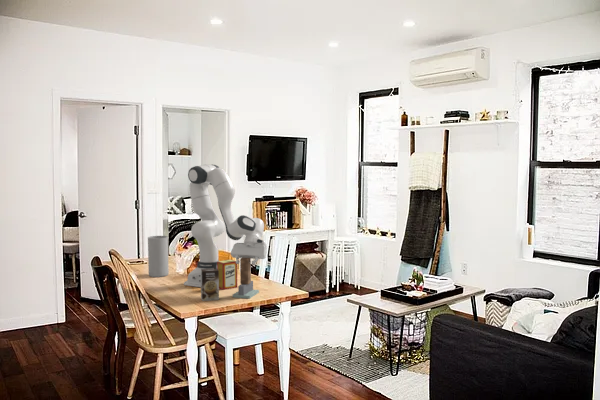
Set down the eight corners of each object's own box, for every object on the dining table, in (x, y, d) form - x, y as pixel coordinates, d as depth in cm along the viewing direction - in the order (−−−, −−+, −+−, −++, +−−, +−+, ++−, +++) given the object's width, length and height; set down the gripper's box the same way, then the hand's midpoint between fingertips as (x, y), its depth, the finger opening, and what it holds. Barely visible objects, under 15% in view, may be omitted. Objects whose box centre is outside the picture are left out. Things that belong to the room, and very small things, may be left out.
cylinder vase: (165, 277, 350) (164, 238, 348) (146, 277, 351) (145, 238, 349) (170, 273, 363) (169, 235, 361) (151, 273, 363) (151, 235, 361)
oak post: (240, 283, 303) (240, 258, 302) (243, 282, 307) (243, 257, 306) (248, 284, 302) (247, 259, 301) (250, 282, 306) (250, 257, 305)
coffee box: (202, 301, 292) (201, 271, 290) (201, 298, 298) (200, 268, 297) (219, 300, 294) (218, 270, 293) (217, 297, 300) (217, 267, 299)
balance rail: (232, 297, 300) (232, 285, 299) (242, 291, 313) (242, 280, 313) (249, 298, 297) (249, 286, 296) (258, 292, 310) (258, 281, 310)
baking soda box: (223, 289, 317) (223, 262, 316) (217, 287, 322) (217, 260, 321) (237, 287, 323) (237, 260, 322) (231, 285, 328) (231, 258, 327)
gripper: (233, 239, 312) (226, 259, 304) (266, 240, 306) (260, 261, 298) (236, 246, 317) (229, 265, 308) (269, 247, 311) (263, 268, 302)
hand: (245, 263), depth 303 cm, fingers open, 8 cm apart
